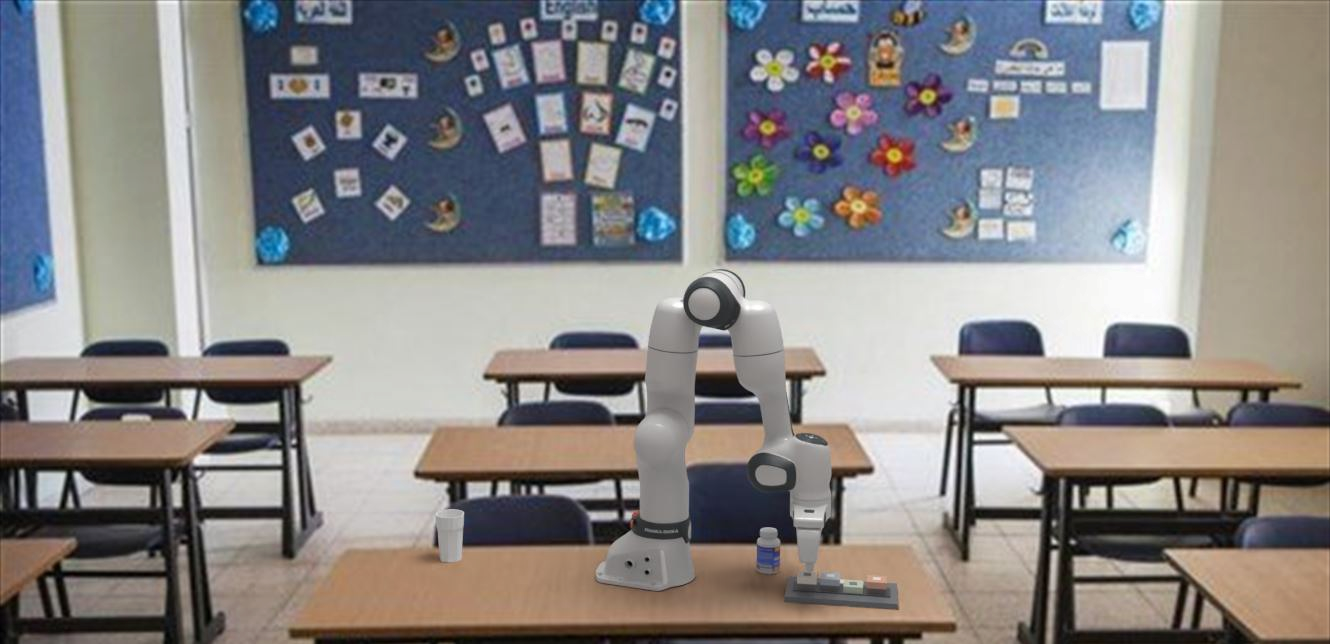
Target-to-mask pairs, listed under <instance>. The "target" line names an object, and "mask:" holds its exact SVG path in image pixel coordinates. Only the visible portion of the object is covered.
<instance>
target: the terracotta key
mask: <svg viewBox="0 0 1330 644" xmlns="http://www.w3.org/2000/svg"><path fill="white" fill-rule="evenodd" d="M887 578H888V577H887V575H876V574H875V575H874V574H867V575H866V581H867V588H873V589H887V583H888V581H887V580H888V579H887Z"/></svg>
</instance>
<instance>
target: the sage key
mask: <svg viewBox="0 0 1330 644" xmlns="http://www.w3.org/2000/svg"><path fill="white" fill-rule="evenodd" d="M863 581H864V580H858V579H857V580H855V579H844V585H843V593H856V594H863Z"/></svg>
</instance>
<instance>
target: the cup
mask: <svg viewBox="0 0 1330 644" xmlns="http://www.w3.org/2000/svg"><path fill="white" fill-rule="evenodd" d="M464 522H465V511H463V510H462V509H461V510H460V509H453V508H449V509H442V510H439V511H436V513H435V526H436V529H437V538H438V539H437V541H438V551H439V560H440V561H441V562H443V563H448V564H450V563H456V562H460V561H461V560H462V559H463V541H464V540H463V536H464V527H465V526H464V525H465V523H464Z"/></svg>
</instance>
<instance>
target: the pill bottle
mask: <svg viewBox="0 0 1330 644" xmlns="http://www.w3.org/2000/svg"><path fill="white" fill-rule="evenodd" d="M759 536H760V537H758V538H757V540H756V571H757V572H758V573H760V574H765V575H774V574H777V573H779V572H780V569H781V540H780V539H779V538H778V529H777V528H775V527H768V526H767V527H762V528H760V530H759Z"/></svg>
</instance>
